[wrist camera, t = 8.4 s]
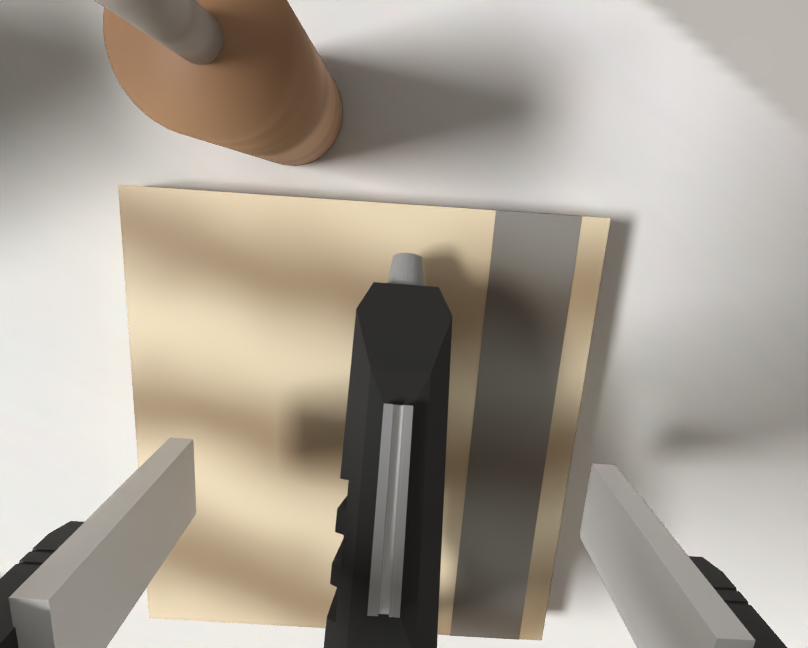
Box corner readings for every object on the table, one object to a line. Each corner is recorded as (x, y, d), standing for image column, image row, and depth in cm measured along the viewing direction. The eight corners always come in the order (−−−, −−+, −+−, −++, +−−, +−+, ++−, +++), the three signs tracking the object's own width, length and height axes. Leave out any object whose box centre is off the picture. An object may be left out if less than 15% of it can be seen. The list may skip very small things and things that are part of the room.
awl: (236, 48, 17) (-45, -208, 6) (344, 55, 17) (243, -186, 7) (237, 161, 18) (-6, 103, 7) (340, 169, 18) (246, 121, 7)
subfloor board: (141, 186, 18) (117, 184, 17) (594, 217, 18) (610, 218, 17) (165, 591, 23) (148, 618, 21) (532, 612, 23) (541, 640, 21)
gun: (431, 317, 24) (461, 229, 14) (408, 705, 20) (428, 961, 10) (371, 312, 24) (360, 221, 14) (337, 700, 20) (289, 953, 10)
